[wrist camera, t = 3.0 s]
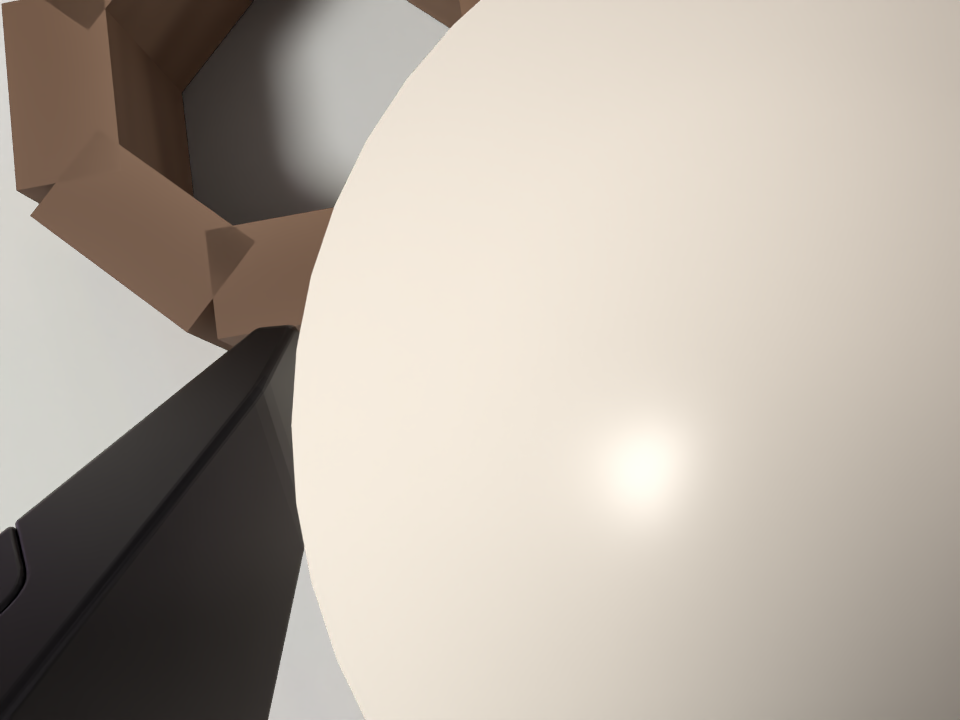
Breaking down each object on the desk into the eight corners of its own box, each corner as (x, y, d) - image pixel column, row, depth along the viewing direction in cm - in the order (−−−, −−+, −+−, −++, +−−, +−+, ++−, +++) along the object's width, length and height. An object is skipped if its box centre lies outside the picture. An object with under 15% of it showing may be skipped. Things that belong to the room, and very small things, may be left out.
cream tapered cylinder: (632, 627, 15) (1148, 1430, 2) (461, 501, 16) (57, 543, 3) (750, 454, 15) (1827, 251, 2) (579, 336, 16) (721, -343, 3)
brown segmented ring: (378, 454, 16) (339, 445, 13) (10, 182, 17) (-104, 117, 14) (664, 59, 16) (690, -36, 13) (288, -172, 18) (237, -306, 15)
